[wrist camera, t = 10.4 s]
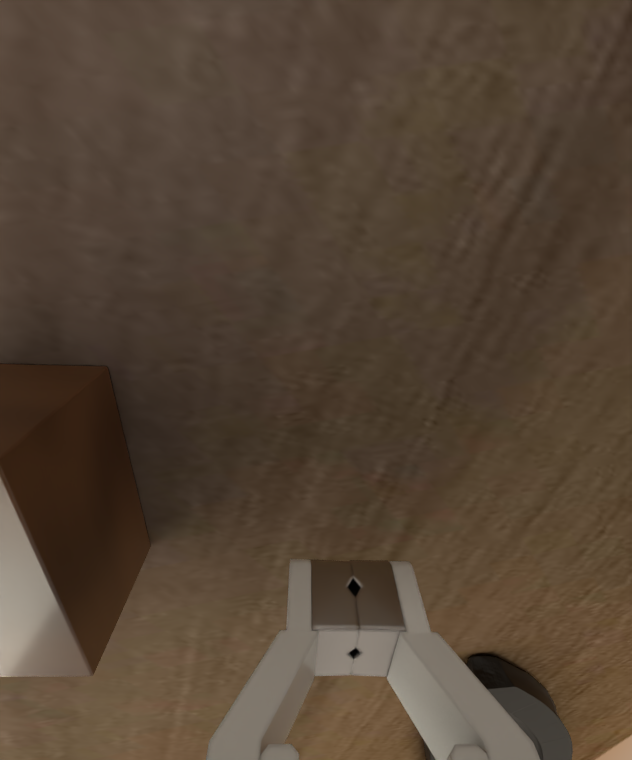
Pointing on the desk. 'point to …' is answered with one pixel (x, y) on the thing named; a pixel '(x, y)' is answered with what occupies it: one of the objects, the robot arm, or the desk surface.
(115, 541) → the walnut block
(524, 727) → the fan shaped piece
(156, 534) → the desk surface
